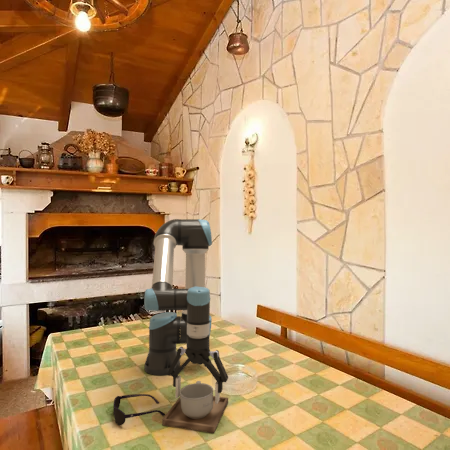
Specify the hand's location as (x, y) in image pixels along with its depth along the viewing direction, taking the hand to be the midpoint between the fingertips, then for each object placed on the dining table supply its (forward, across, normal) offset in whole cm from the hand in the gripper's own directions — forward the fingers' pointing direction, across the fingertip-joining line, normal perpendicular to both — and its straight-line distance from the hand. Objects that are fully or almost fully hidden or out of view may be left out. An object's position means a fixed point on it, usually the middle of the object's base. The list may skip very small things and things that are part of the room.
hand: (197, 399), depth 116 cm
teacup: (+4, 0, 0) cm, 4 cm away
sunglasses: (+5, -18, -5) cm, 20 cm away
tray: (+4, 0, 0) cm, 5 cm away
